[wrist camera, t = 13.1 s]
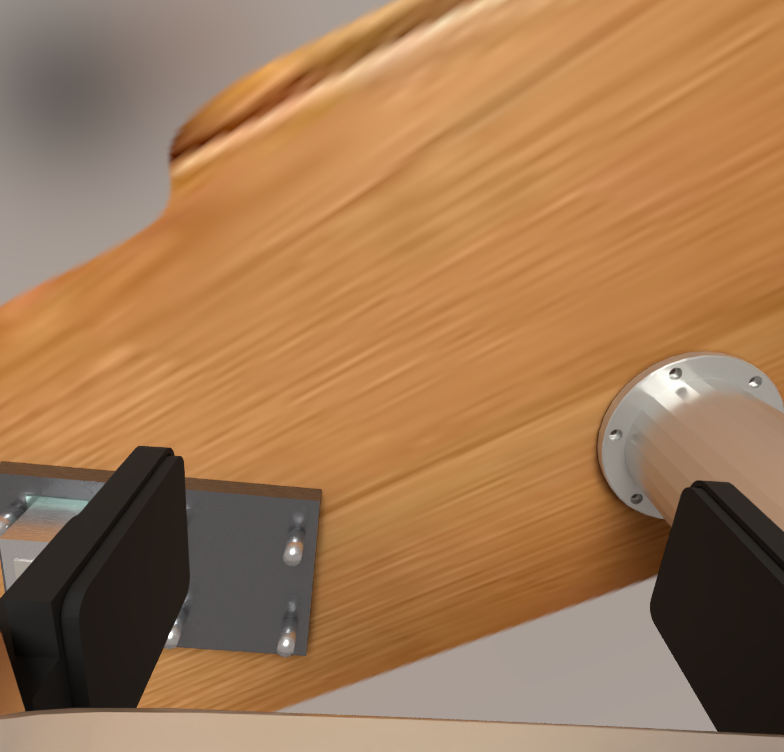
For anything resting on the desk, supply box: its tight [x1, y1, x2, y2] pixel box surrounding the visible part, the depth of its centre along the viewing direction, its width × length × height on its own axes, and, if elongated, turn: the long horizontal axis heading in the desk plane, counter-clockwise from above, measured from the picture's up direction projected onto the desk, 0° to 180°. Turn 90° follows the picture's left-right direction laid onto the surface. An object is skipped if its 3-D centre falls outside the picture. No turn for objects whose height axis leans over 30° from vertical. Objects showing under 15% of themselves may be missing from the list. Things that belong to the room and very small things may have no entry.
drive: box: [0, 503, 85, 590], centre depth 39 cm, size 6×10×4 cm, turn 174°
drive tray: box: [0, 461, 322, 657], centre depth 41 cm, size 22×14×4 cm, turn 83°
